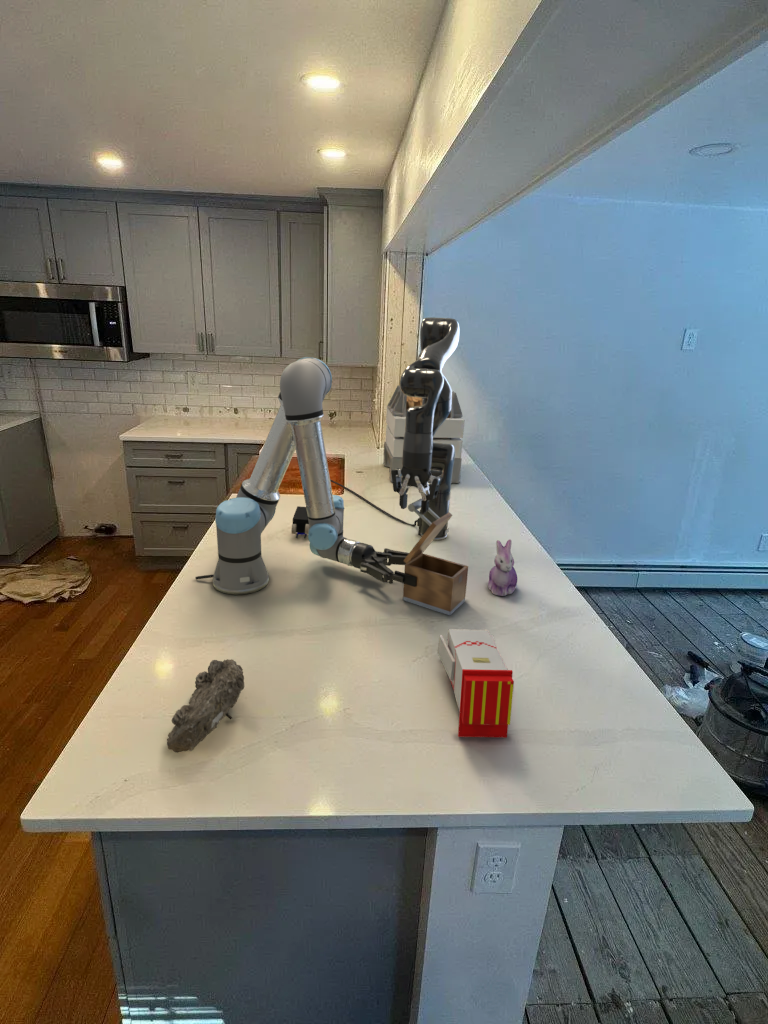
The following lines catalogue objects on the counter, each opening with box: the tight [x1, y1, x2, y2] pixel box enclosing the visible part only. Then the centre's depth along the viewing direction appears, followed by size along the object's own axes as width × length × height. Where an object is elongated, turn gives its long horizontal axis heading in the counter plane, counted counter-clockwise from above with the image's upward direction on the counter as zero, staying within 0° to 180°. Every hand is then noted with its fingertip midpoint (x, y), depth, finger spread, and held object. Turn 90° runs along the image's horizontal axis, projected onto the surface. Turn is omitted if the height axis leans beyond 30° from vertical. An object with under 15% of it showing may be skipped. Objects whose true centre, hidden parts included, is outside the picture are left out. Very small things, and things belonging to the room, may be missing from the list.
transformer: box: [383, 384, 465, 484], centre depth 268 cm, size 34×33×41 cm
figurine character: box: [291, 505, 310, 539], centre depth 196 cm, size 7×8×15 cm
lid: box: [403, 498, 453, 564], centre depth 152 cm, size 15×10×9 cm
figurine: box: [487, 538, 518, 597], centre depth 160 cm, size 9×10×15 cm
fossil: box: [166, 658, 245, 754], centre depth 106 cm, size 22×10×15 cm
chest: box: [402, 552, 469, 616], centre depth 153 cm, size 14×10×11 cm
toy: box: [437, 628, 515, 738], centre depth 117 cm, size 12×13×30 cm
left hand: (425, 575), depth 154 cm, fingers closed on chest, 9 cm apart
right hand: (413, 510), depth 151 cm, fingers open, 5 cm apart
